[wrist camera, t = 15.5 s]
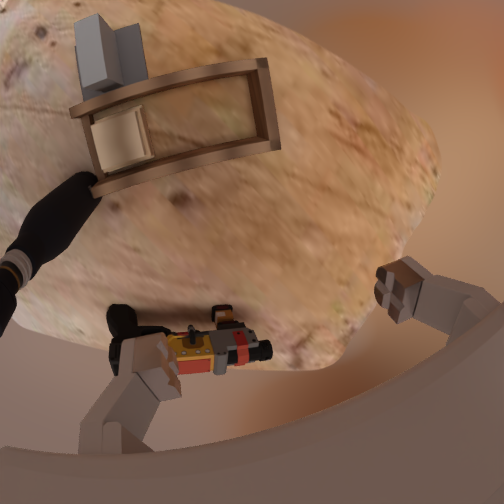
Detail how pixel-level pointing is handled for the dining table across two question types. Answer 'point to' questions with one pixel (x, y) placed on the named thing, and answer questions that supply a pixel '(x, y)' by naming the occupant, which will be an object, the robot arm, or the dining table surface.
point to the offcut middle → (145, 138)
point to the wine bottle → (44, 236)
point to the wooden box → (195, 158)
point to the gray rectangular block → (97, 54)
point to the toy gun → (193, 341)
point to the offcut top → (118, 140)
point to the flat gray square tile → (124, 59)
